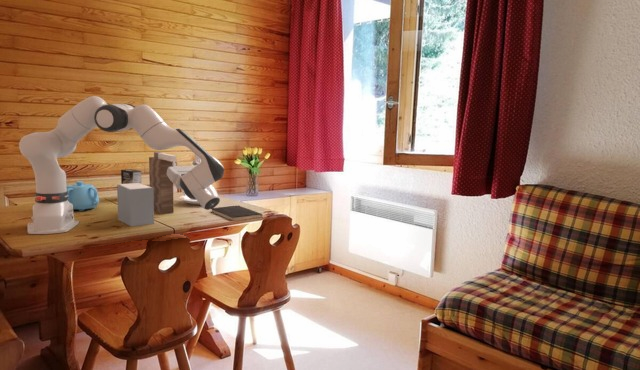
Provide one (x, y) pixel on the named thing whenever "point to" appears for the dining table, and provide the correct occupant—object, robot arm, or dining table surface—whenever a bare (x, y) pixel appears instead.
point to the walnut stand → (161, 185)
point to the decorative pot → (82, 196)
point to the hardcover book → (236, 212)
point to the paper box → (135, 204)
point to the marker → (165, 156)
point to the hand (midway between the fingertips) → (184, 162)
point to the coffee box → (130, 176)
